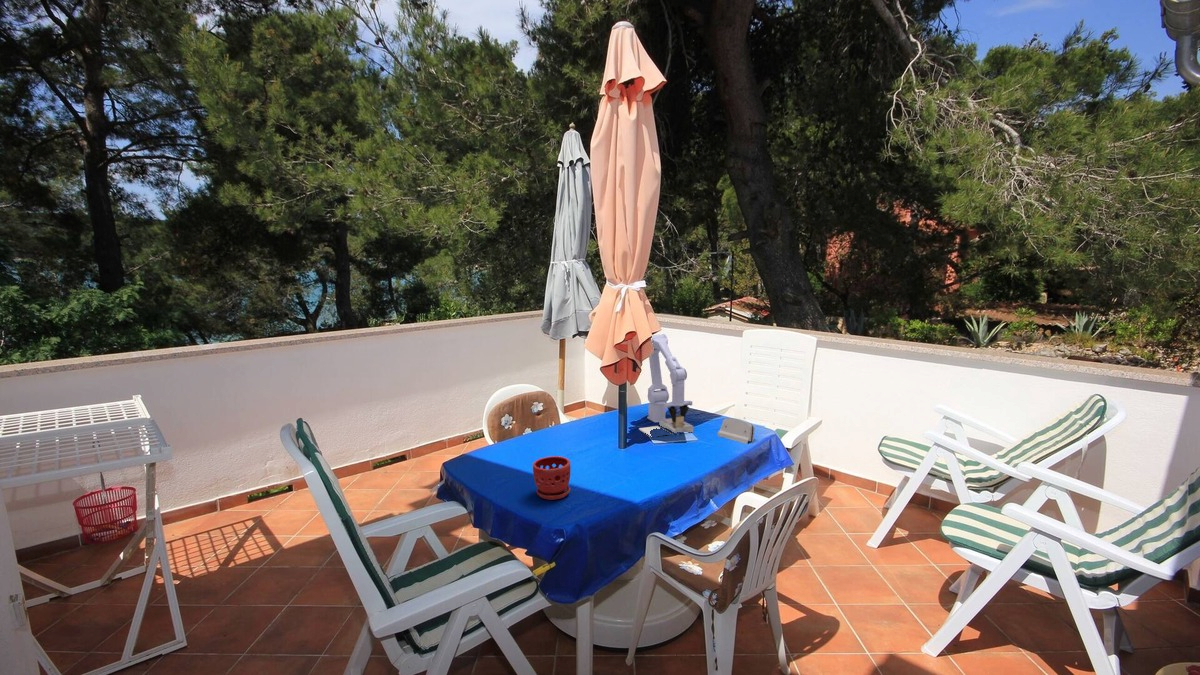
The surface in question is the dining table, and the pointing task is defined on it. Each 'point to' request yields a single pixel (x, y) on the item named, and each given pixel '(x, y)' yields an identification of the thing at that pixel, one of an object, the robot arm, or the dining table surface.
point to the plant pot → (552, 477)
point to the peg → (679, 420)
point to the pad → (648, 429)
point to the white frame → (668, 424)
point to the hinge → (737, 430)
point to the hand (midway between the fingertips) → (678, 421)
